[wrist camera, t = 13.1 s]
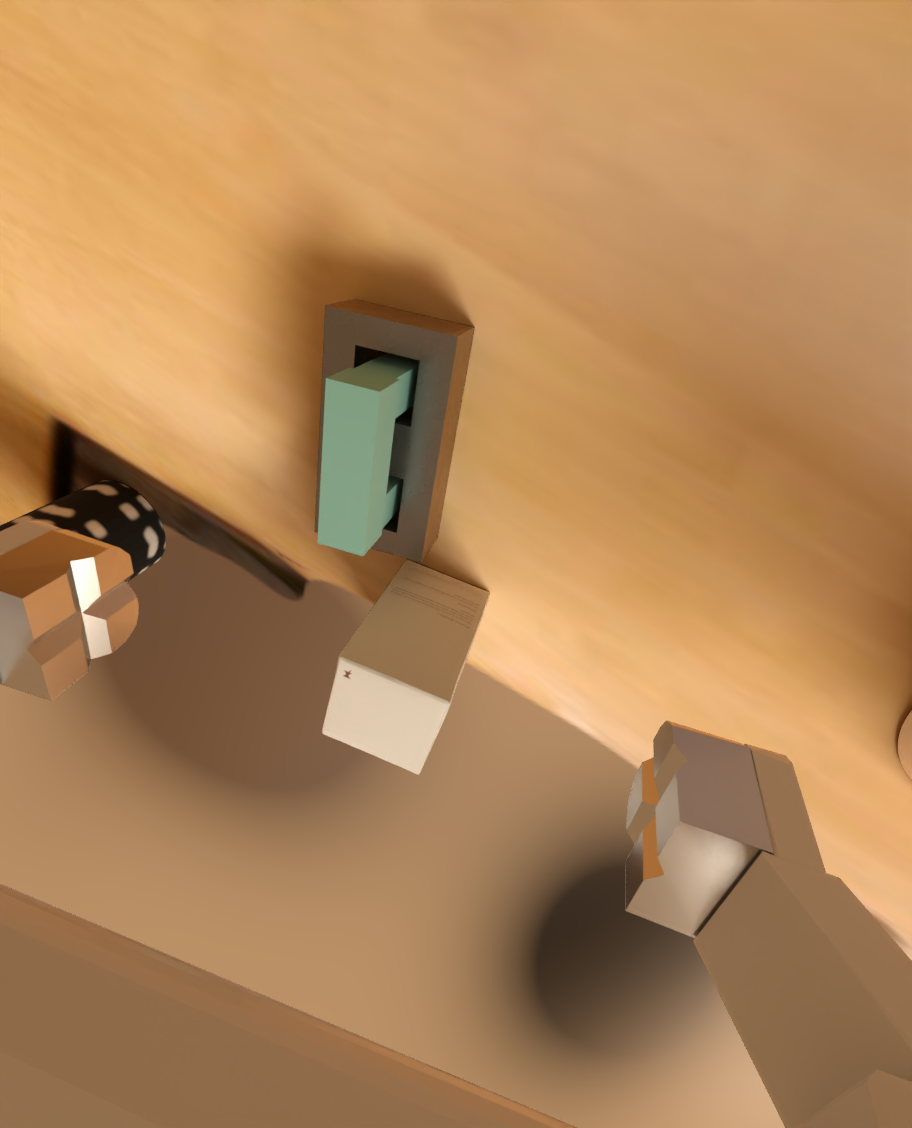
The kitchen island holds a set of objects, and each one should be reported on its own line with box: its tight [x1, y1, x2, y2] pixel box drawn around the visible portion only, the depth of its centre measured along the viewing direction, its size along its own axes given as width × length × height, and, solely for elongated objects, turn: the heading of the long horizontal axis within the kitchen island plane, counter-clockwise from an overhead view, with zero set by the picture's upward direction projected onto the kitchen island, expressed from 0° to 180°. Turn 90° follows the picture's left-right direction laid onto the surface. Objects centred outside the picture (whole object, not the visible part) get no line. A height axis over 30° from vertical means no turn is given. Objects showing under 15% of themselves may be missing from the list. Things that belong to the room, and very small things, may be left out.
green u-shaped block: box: [317, 353, 420, 556], centre depth 36 cm, size 3×10×9 cm, turn 170°
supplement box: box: [322, 559, 490, 774], centre depth 41 cm, size 7×7×13 cm
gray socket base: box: [315, 299, 475, 563], centre depth 38 cm, size 8×15×4 cm, turn 170°
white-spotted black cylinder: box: [0, 480, 166, 582], centre depth 43 cm, size 8×8×20 cm
